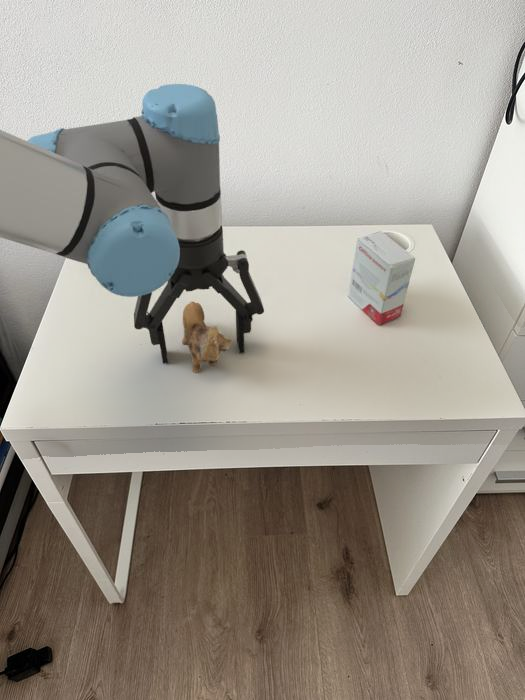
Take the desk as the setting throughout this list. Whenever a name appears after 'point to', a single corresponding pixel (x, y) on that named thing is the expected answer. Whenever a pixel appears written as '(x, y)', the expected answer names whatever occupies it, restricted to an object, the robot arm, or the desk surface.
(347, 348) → the desk surface
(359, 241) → the ink box
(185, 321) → the lion figurine
